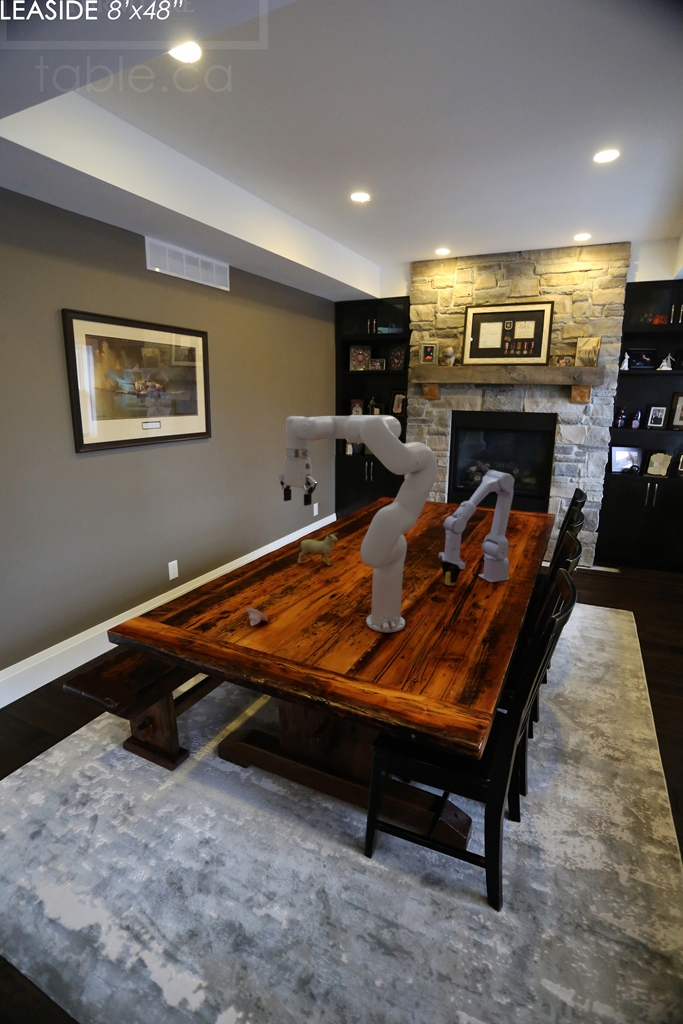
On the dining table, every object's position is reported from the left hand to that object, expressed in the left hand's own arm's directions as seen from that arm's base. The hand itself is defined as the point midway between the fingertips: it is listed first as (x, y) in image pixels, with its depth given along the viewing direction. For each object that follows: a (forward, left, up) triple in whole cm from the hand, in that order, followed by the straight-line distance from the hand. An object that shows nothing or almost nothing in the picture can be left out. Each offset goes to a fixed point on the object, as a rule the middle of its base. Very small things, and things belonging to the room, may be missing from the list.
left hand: (297, 502), depth 173 cm
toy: (+35, -9, -36) cm, 51 cm away
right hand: (+10, -59, -33) cm, 69 cm away
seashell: (-20, +13, -36) cm, 43 cm away
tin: (+10, -59, -35) cm, 69 cm away
